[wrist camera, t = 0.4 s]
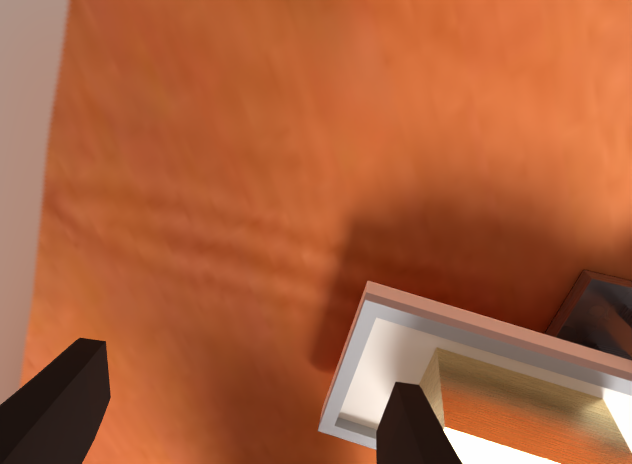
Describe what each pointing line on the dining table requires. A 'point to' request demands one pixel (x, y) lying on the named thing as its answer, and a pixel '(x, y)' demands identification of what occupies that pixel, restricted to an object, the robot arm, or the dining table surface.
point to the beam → (459, 337)
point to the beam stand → (597, 315)
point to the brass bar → (518, 416)
